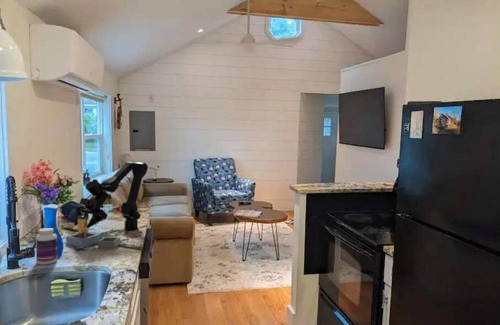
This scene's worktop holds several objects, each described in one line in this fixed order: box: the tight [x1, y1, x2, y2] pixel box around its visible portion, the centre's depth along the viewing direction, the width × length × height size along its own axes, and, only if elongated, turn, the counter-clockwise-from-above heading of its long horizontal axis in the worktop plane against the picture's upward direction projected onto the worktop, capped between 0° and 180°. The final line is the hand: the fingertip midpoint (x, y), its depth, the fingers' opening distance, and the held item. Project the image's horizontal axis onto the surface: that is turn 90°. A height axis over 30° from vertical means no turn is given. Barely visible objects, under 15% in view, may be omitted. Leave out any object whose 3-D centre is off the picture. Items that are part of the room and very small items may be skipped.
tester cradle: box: [97, 236, 121, 250], centre depth 185 cm, size 8×8×4 cm
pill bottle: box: [35, 228, 58, 266], centre depth 161 cm, size 8×8×14 cm
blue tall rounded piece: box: [35, 197, 63, 236], centre depth 204 cm, size 15×10×20 cm
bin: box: [65, 231, 101, 249], centre depth 189 cm, size 11×11×4 cm
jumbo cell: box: [77, 214, 89, 239], centre depth 188 cm, size 4×4×13 cm
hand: (80, 226), depth 187 cm, fingers open, 9 cm apart
